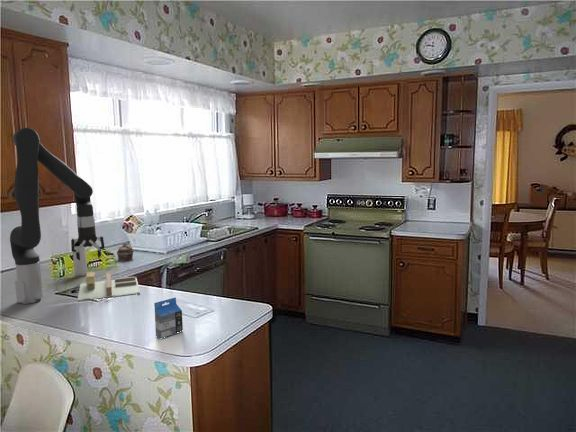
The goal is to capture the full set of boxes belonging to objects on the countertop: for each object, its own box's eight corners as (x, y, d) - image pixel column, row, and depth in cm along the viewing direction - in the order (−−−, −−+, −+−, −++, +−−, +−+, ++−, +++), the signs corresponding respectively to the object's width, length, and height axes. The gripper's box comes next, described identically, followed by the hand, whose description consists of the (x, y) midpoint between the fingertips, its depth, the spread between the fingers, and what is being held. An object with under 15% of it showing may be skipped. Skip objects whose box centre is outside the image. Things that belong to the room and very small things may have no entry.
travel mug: (90, 274, 236) (87, 237, 233) (83, 277, 229) (80, 240, 226) (79, 274, 237) (76, 237, 234) (72, 277, 230) (69, 240, 227)
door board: (140, 294, 202) (139, 283, 201) (77, 302, 192) (76, 291, 191) (136, 279, 226) (135, 269, 225) (80, 285, 216) (79, 275, 215)
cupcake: (117, 258, 271) (116, 242, 269) (134, 257, 274) (133, 241, 272) (116, 262, 262) (115, 245, 260) (133, 260, 265) (132, 244, 263)
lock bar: (95, 288, 208) (94, 276, 207) (86, 289, 207) (85, 277, 206) (95, 283, 216) (94, 271, 215) (87, 284, 215) (86, 272, 214)
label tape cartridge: (161, 339, 153) (159, 305, 151) (155, 336, 155) (153, 303, 154) (183, 332, 159) (181, 299, 157) (177, 329, 162) (175, 297, 160)
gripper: (102, 223, 213) (105, 255, 216) (70, 225, 208) (73, 258, 210) (102, 225, 206) (105, 259, 209) (68, 228, 201) (72, 262, 203)
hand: (89, 258), depth 209 cm, fingers open, 8 cm apart
